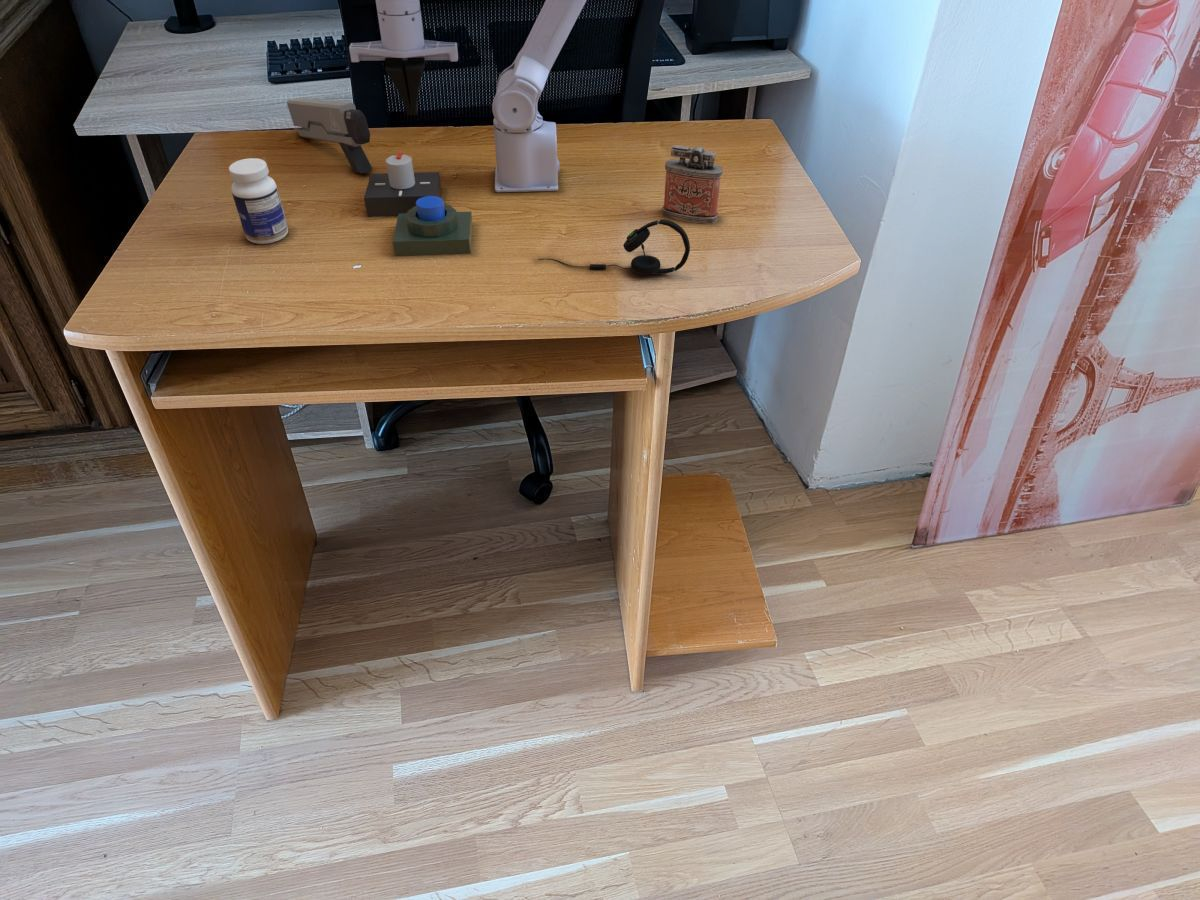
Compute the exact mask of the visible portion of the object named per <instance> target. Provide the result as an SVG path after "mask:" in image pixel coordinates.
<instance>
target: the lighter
mask: <svg viewBox="0 0 1200 900" xmlns="http://www.w3.org/2000/svg"><path fill="white" fill-rule="evenodd" d="M716 154H717V152H715V151H711V150H705V149H704V147H703V146H701V145H697V146H695V147H694V148H691V147H690V146H686V145H685V146H684V145H679V144H673V145H672V147H671V149H670V156H671V157H674V158H669V159H668V160H666V161H665V165H664V169H665V181H664V183H665V184H664V198H663V199H664V200H663V206H662V210H661V214H662V216H663V217H666V218H670V219H674V220H677V221H683V222H688V223H697V224H705V225H706V224H707V225H708V224H709V225H711V224H715V223H717V221H718V216H719V215H718V213H719V212H718V205H719V196H720V186H721V177H722V176H723V167H722V166H720V165H717V164H715V162H716Z"/></svg>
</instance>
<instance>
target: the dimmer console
mask: <svg viewBox="0 0 1200 900" xmlns="http://www.w3.org/2000/svg"><path fill="white" fill-rule="evenodd" d="M414 178H415V185H414V186H412V187H410V188H407V189H395V188H392V187H391V186H390V183H389V177H388V172H384V173H383V172H381V173H370V176H369V180H368V181H367V186H366V189H365V194H364V197H363V200H364V205H365V210H366V215H367V216H366V217H367V218H378V217H379V218H384V217H398V214H402V213H407V211H409V210H410V209H412V208H413V207H414V206H416V201H417V200H418V199H420V198H422V197H426V196H437V197H440V198H442V191H443V190H442V181H441V173H440V171H420V172H415V171H414Z"/></svg>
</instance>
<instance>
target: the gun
mask: <svg viewBox="0 0 1200 900" xmlns="http://www.w3.org/2000/svg"><path fill="white" fill-rule="evenodd" d="M286 105H287V109H288V111H289V115H290V117H291V120H292V123H293V126H294V127H297V132H298V135H299V136H300V137H301V138H305V139H310V140H317V141H322V142H327V143H333V144H338V145H339V146H340V148H341V150H342V152H343V154H344V157H345V158H346V160H347V161H348V164H349V166H350V167H351V169H352V171H353V172H354V173H356V174H361V175H365V174H367V173H371V172H373V167H372V164H371V163H370V160H369V158H368V156H367V155H366V153H365V151H364V149H363V147H362V146H363V145H365V144H369V143H370V142H371V133H370V129H369V125H368V121H367V117H366V116H365V114H364V113H363V111H362V110H360V109H356V104H354V102H348V101H339V100H338V101H337V100H330V99H329V100H328V99H318V98H306V97H295V98H291V99H288V100H287V101H286Z"/></svg>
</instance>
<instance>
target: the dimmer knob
mask: <svg viewBox="0 0 1200 900" xmlns="http://www.w3.org/2000/svg"><path fill="white" fill-rule="evenodd" d="M385 164H386V165H385V166H386V170H387V173H388V177H389V183H390V186H391V187H392V188H395V189H407V188H410V187H412V186H414V185H415V178H414V173H415V171H414V165H413V159H412V157H411V156H410V155H407V154H403V153H402V152H397V153H396V154H394V155H393V154H392V155H390V156H388V157H387V158H386V159H385Z"/></svg>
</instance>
